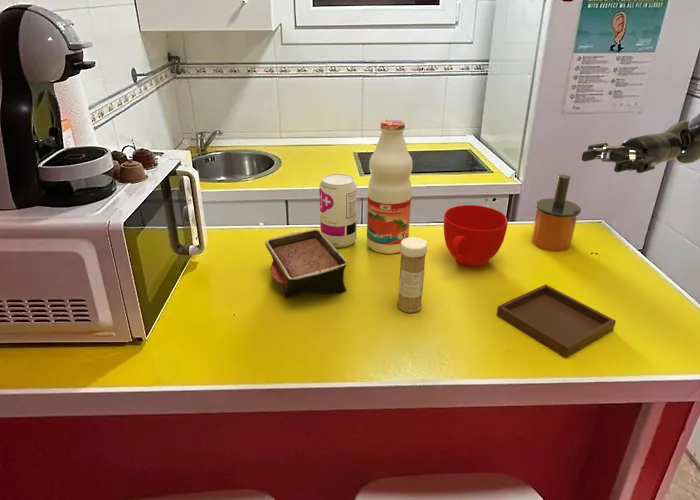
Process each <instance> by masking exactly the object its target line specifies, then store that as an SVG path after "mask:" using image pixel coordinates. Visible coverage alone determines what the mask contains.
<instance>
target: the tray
mask: <svg viewBox="0 0 700 500" xmlns="http://www.w3.org/2000/svg"><path fill="white" fill-rule="evenodd" d="M496 316H497V317H498V318H500V319H502V320H503V321H505V322H507V323H508V324H510V325H512V326H513V327H515V328H516V329H517V330H519V331H521V332H523V333H525V334H526V335H528V337H529V336H530V337H531V338H532V339H534V340H536V342H537V341H538V342H539V343H540V344H542V345H544V346H545V347H547V348H549V350H551V351H553V352H555V353H557V354H558V355H560V356H562V357H563V358H565V359H566V358H568V357H570V356H572V355H573V354H575V353H577V352H579V351H581V350H582V349H584V348H586V347H587V346H589V345H590V344H592V343H594V342H596V341H598V340H599V339H601V338H602V337H605V336H606V335H607V334H609V333H611V332H612V331H614V329H615V326H616V322H617V321H616V319H613V318H612V317H610V316H608V315H606V314H604V313H602V312H600V311H598V310H596V309H594V308H592V307H590V306H589V305H587V304H584V303H583V302H580V301H579V300H577V299H575V298H573V297H572V296H569V295H567V294H565V293H564V292H562V291H559V290H557V289H556V288H555V287H552V286H550V285H548V284H543V285H540V286H539V287H535V288H534V289H532V290H530V291H528V292H526V293H524V294H521V295H519V296H516V297H515V298H512V299H511V300H509V301H508V300H507V301H505V302H504V303H502V304H499V305H498V306H497V310H496Z"/></svg>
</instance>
